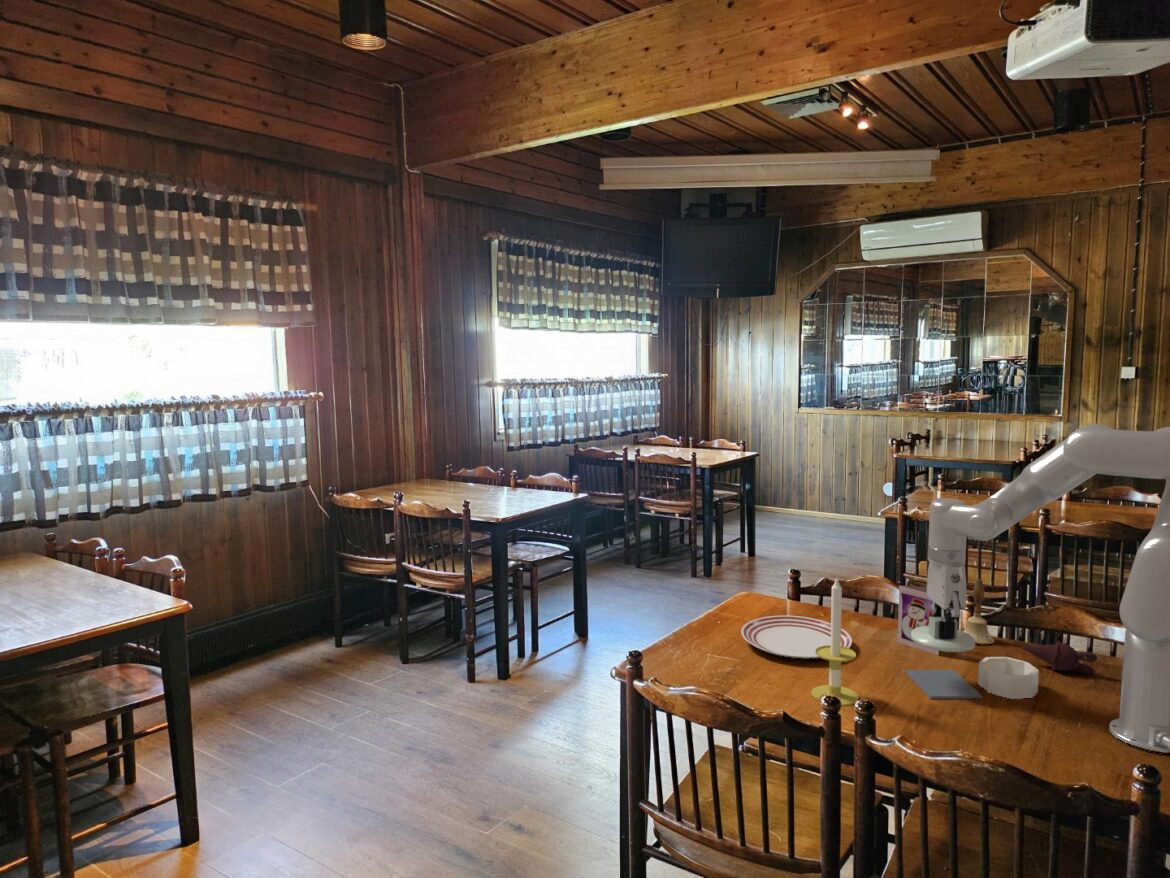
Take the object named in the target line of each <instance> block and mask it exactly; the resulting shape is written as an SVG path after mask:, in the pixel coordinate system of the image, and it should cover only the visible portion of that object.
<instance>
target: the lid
mask: <svg viewBox="0 0 1170 878" xmlns="http://www.w3.org/2000/svg"><path fill="white" fill-rule="evenodd" d="M939 621H942V620H941V617H929V626H923V627H918V628H915V629H913V630H912V631H911V639H912V640H913V641H914V642H915V643H917V644H919V645H921V646H924V647H926V648H930V649H934V650H939V652H946V653H961V652H962V653H963V652H969V651H971V650H974V648H975V647H976V645H975V639H974V638H973V637H972V636H971V635H969V634H967V633H965V632H964V631H962V630H959V627H958V626H959V621H958V620H957V619H956V622H955V635H954V638H953V639H940V638H939Z"/></svg>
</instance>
